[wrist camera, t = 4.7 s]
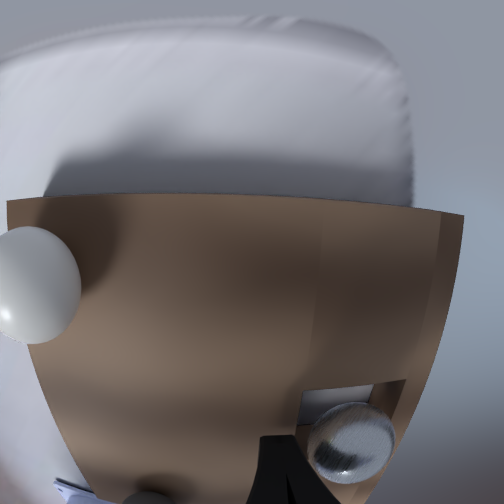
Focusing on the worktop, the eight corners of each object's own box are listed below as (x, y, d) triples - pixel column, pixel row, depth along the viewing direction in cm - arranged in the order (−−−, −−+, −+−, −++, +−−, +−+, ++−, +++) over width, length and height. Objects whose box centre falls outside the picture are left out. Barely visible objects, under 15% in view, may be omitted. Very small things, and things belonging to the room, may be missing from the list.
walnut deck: (353, 479, 15) (362, 505, 13) (107, 473, 14) (97, 498, 12) (428, 209, 11) (464, 215, 9) (41, 196, 10) (6, 200, 8)
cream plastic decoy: (104, 322, 9) (56, 377, 6) (30, 311, 9) (-24, 351, 6) (95, 219, 8) (29, 237, 5) (19, 220, 8) (-48, 236, 5)
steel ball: (352, 509, 8) (282, 470, 10) (389, 454, 10) (327, 423, 12) (387, 471, 6) (297, 423, 9) (420, 405, 9) (346, 372, 11)
